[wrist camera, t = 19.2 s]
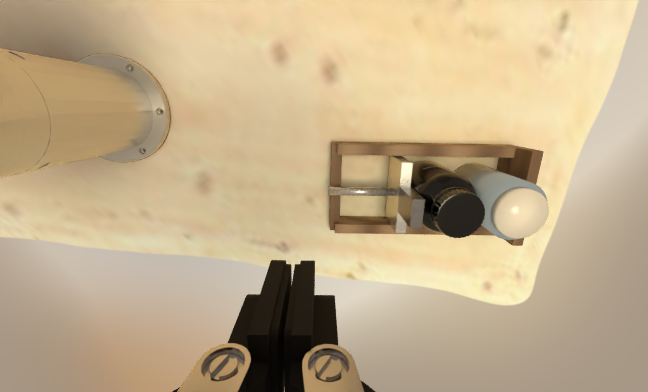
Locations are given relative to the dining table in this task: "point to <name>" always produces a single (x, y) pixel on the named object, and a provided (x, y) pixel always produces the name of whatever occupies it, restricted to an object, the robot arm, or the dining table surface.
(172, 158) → the dining table surface
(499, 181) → the blue jar
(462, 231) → the supplement bottle
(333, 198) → the brown wooden open box
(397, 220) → the pusher
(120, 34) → the dining table surface
